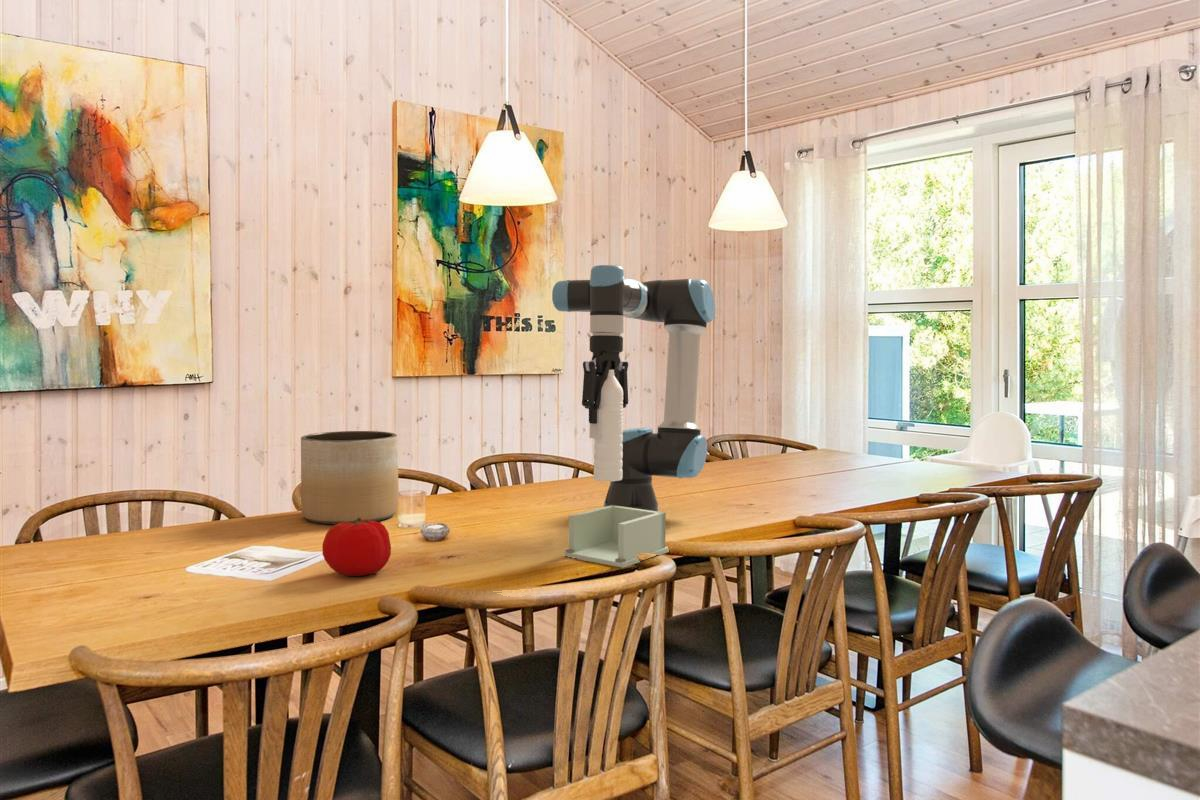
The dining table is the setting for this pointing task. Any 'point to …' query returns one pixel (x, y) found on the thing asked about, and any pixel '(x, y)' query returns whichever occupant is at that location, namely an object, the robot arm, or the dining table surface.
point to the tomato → (357, 547)
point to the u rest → (616, 535)
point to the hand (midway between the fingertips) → (605, 437)
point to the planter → (349, 476)
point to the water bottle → (610, 432)
